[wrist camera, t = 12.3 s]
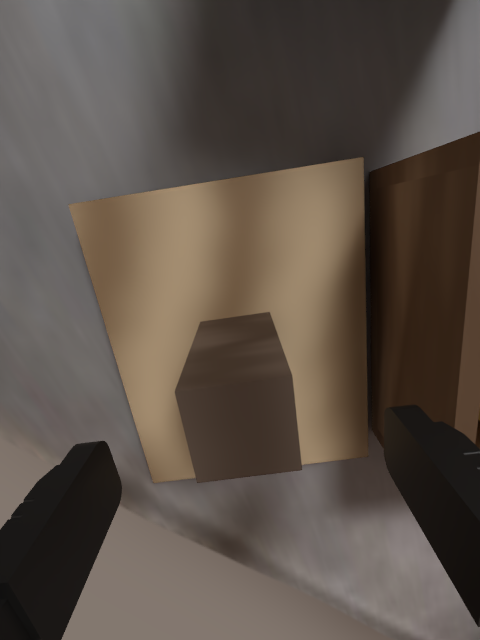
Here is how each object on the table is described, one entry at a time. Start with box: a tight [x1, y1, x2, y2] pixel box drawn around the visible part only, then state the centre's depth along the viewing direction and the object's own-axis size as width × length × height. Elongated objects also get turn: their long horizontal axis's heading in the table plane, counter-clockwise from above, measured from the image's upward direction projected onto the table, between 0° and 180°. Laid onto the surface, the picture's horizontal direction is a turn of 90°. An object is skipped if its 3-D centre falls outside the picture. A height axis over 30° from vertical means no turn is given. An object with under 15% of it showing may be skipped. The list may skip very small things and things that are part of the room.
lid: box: [68, 157, 368, 483], centre depth 13 cm, size 13×16×8 cm
